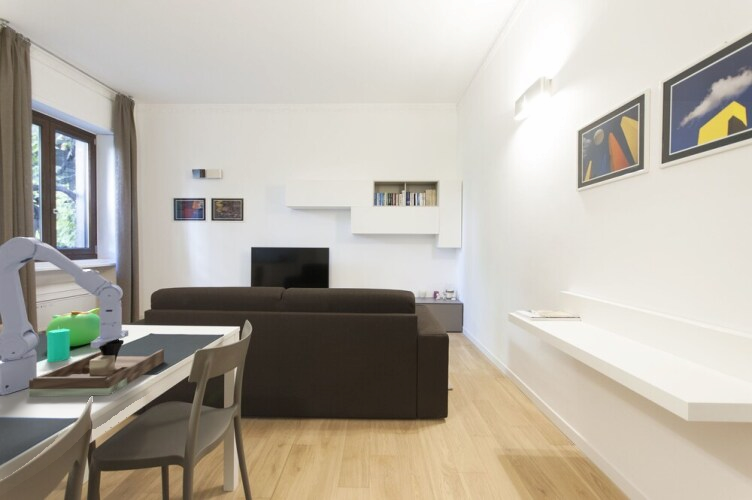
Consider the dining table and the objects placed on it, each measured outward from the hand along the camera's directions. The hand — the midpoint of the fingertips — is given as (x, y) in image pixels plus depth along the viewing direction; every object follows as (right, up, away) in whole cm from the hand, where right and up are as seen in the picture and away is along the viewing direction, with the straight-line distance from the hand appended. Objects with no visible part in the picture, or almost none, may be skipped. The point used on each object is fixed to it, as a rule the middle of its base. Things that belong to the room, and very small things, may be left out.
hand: (110, 363), depth 112 cm
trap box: (0, -3, -2) cm, 4 cm away
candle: (-29, -3, +14) cm, 33 cm away
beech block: (0, -1, -4) cm, 4 cm away
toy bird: (-38, -3, +31) cm, 49 cm away
